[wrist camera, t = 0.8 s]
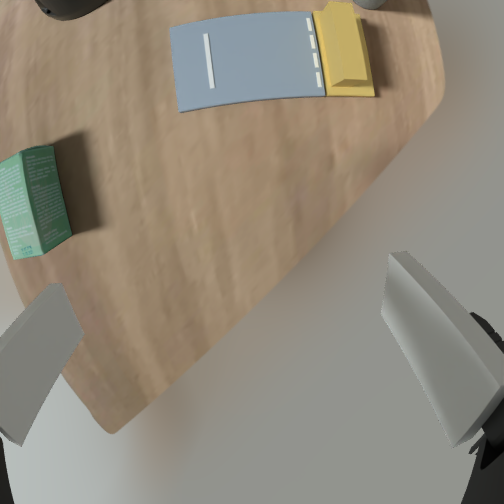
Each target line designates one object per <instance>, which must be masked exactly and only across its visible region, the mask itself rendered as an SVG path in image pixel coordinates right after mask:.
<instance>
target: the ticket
mask: <svg viewBox="0 0 504 504" xmlns="http://www.w3.org/2000/svg"><path fill="white" fill-rule="evenodd" d="M170 39H171V50H172V60H173V69H174V78H175V86H176V94H177V102H178V110H179V112H180V113H184V112H189V111H194V110H199V109H205V108H210V107H216V106H223V105H229V104H237V103H244V102H253V101H262V100H273V99H286V98H304V97H323V96H325V90H324V83H323V76H322V69H321V63H320V57H319V51H318V46H317V40H316V35H315V30H314V25H313V20H312V15H311V12H267V13H254V14H243V15H235V16H227V17H220V18H214V19H208V20H203V21H197V22H192V23H188V24H183V25H179V26H175V27H171V28H170Z"/></svg>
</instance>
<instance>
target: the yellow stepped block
mask: <svg viewBox="0 0 504 504" xmlns="http://www.w3.org/2000/svg"><path fill="white" fill-rule="evenodd" d="M312 18H313V23H314V28H315V33H316V38H317V43H318V49H319V55H320V61H321V67H322V73H323V80H324V87H325V94H326V97H327V96H346V97H373V96H375V95H374V87H373V80H372V74H371V68H370V62H369V56H368V51H367V46H366V41H365V36H364V32H363V27H362V23H361V19H360V15H359V14H354V10H353V6H352V3H343V2H332V1H329V2H328V4H327V5H326V7H325V8H324V10H323V11H313V13H312Z"/></svg>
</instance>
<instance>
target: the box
mask: <svg viewBox="0 0 504 504" xmlns="http://www.w3.org/2000/svg"><path fill="white" fill-rule="evenodd" d="M0 214H1V218H2V222H3V226H4V229H5V233H6V237H7V240H8V243H9V247H10V250H11V253H12V256H13V259H14V260H16V259H22V258H28V257H34V256H41V255H44V254H46V253H47V252H48V251H50V250H51V249H53V248H54V247H56V246H57V245H59V244H60V243H62V242H63V241H65V240H66V239H68V238H69V237H71V236H72V232H71V228H70V224H69V220H68V216H67V212H66V208H65V203H64V199H63V195H62V191H61V186H60V181H59V177H58V171H57V166H56V160H55V154H54V146H45V145H44V146H34V147H31V148H27V149H25V150H22V151H20V152H18V153H16V154H15V155H13V156H11V157H9V158H7V159H6V160H4V161H2V162H0Z"/></svg>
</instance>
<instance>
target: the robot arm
mask: <svg viewBox="0 0 504 504" xmlns="http://www.w3.org/2000/svg"><path fill="white" fill-rule="evenodd" d="M106 1H107V0H35V2H36V3H37V4H38V6H39V7H40V9H41V10H42V11H43V12H44V13H45V14H46V15H47V16H49V17H52V18H54V19H56V20H61V21H66V20H72V19H76V18H78V17H81V16H83V15H85V14H87V13H89V12H91V11H93V10H94V9H96V8H97V7H99V6H100V5H102V4H103V3H104V2H106ZM381 315H382V317H383V318H384V320H385V322H386V323H387V325H388V327H389V328H390V330H391V332H392V334H393V335H394V337H395V338H396V340H397V342H398V344H399V346H400V347H401V349H402V351H403V352H404V354H405V356H406V358H407V360H408V361H409V363H410V365H411V367H412V369H413V371H414V372H415V374H416V376H417V378H418V380H419V382H420V384H421V386H422V387H423V389H424V391H425V393H426V395H427V397H428V399H429V401H430V403H431V405H432V407H433V409H434V411H435V413H436V415H437V417H438V419H439V421H440V424H441V426H442V428H443V430H444V432H445V434H446V436H447V439H448V441H449V443H450V445H451V448H454V447H456V446H458V445H460V444H462V443H464V442H466V441H468V440H469V439H471V438H472V437H473V436H474V435H475V434H476V433H477V432H478V430H479V429H480V428H481V427H482V429H483V431H484V432H485V433H484V434H483V436H482V437H481V438H480V439H479V440H478V441H477V442H476V443H475V444H474V446H472V447H471V449H470V451H469V454H472V453H473V452H474V451H475V450H476V449H477V448H478V447H479V449H478V452H477V453H476V455H477V457H476V460H475V464H474V467H473V470H472V474H471V477H470V480H469V483H468V486H467V489H466V492H465V494H464V497H463V500H462V502H461V504H504V341H502V338H501V337H500V336H499V334H498V333H497V332H496V333H495V330H494V329H493V328H492V327H491V325H490V324H489V323H488V322H487V321H486V320H485V319H483V318H482V317H480V316H478V315H477V314H475V313H474V312H472V313H468V312H467V311H466V309H465V308H464V307H463V306H462V305H461V304H460V303H459V302H458V301H457V300H456V299H455V298H454V297H453V296H452V295H451V294H450V293H449V292H448V291H447V290H446V289H445V287H444V286H443V285H441V284H440V282H438V281H437V280H436V279H435V278H434V277H433V276H432V275H431V274H430V273H429V272H428V271H427V270H426V269H425V268H424V267H423V266H422V265H421V264H420V263H419V262H418V261H417V260H416V259H415V258H413V257H412V256H411V255H410V254H409V253H408V252H407V251H403V252H394V253H389V260H388V269H387V277H386V284H385V291H384V297H383V303H382V309H381ZM83 336H84V332H83V330H82V328H81V326H80V324H79V322H78V320H77V318H76V315H75V313H74V311H73V309H72V306H71V304H70V302H69V300H68V297H67V295H66V292H65V290H64V287H63V285H62V283H54V284H49V285H48V286H47V287H46V288H45V289H44V290H43V291H42V292H41V293H40V294H39V295H38V296H37V297H36V298H35V300H34V301H33V302H32V303H31V304H30V305H29V306H28V307H27V308H26V309H25V310H24V311H23V312H22V313H21V314H20V315H19V317H18V318H17V319H16V320H15V321H14V322H13V323H12V325H11V326H10V327H9V328H8V329H7V330H6V331H5V332H4V334H3V335H2V336H1V337H0V432H1V433H3V435H4V436H5V437H6V438H7V439H8V440H9V441H11V442H13V443H15V444H17V445H19V446H21V447H22V445H23V442H24V440H25V438H26V436H27V434H28V432H29V430H30V428H31V426H32V424H33V422H34V420H35V418H36V416H37V414H38V412H39V410H40V408H41V406H42V404H43V403H44V401H45V399H46V397H47V395H48V394H49V392H50V390H51V388H52V386H53V385H54V383H55V381H56V380H57V378H58V376H59V374H60V373H61V371H62V369H63V368H64V366H65V364H66V363H67V361H68V360H69V358H70V356H71V355H72V353H73V351H74V350H75V348H76V347H77V345H78V344H79V342H80V340H81V339H82V337H83ZM0 504H14V501H13V497H12V493H11V488H10V484H9V479H8V474H7V468H6V462H5V456H4V448H3V442H2V439H1V437H0Z"/></svg>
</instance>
